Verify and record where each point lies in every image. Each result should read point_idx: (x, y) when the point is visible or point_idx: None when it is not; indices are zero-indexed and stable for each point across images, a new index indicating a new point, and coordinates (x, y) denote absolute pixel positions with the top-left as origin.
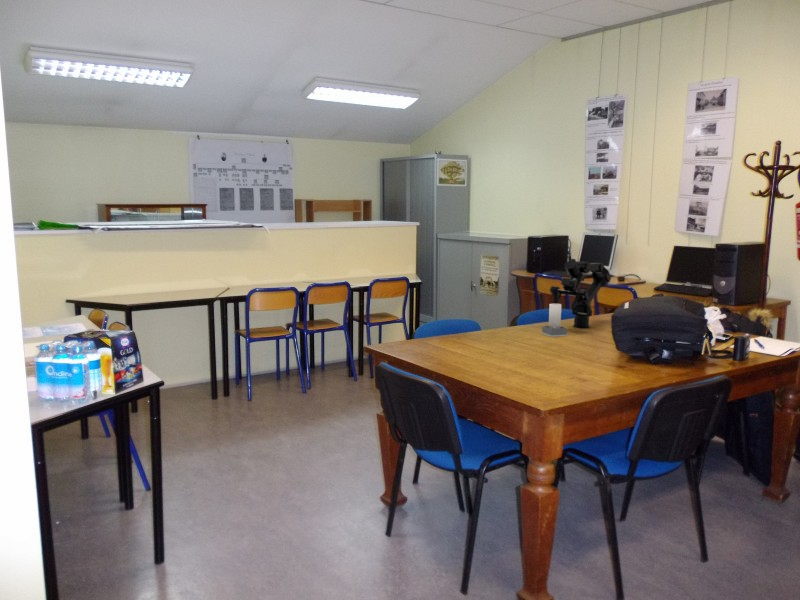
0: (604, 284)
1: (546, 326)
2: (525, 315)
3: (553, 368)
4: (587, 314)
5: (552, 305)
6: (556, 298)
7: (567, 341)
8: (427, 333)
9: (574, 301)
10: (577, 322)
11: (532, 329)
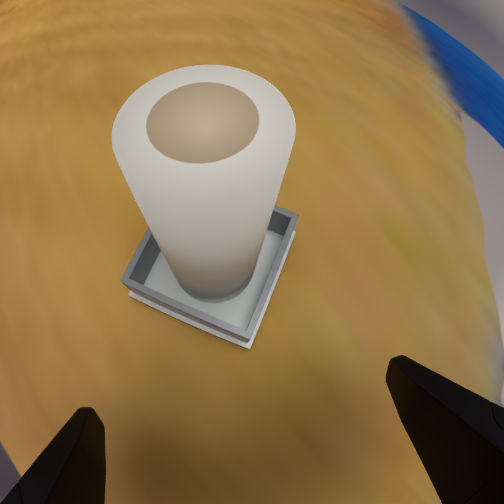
0: None
1: (282, 241)
2: None
3: (41, 5)
4: None
5: (199, 71)
6: (469, 439)
7: (71, 178)
8: (445, 36)
9: (37, 486)
10: None
11: (415, 307)
